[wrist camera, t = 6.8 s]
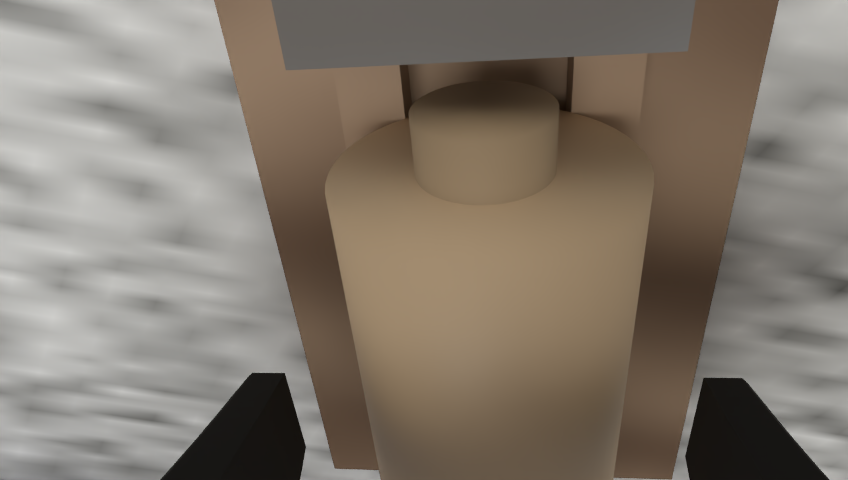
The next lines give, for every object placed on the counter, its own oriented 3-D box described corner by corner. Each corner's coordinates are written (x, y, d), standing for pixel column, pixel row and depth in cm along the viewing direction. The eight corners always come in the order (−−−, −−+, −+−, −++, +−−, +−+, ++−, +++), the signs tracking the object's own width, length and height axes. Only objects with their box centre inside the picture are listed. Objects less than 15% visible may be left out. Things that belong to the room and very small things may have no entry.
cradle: (664, 450, 19) (708, 626, 15) (341, 441, 21) (302, 601, 17) (786, -145, 11) (965, -107, 7) (212, -98, 12) (62, -41, 8)
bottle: (590, 423, 17) (623, 625, 13) (402, 420, 17) (375, 613, 13) (628, 44, 11) (707, 189, 7) (347, 58, 12) (271, 200, 8)
